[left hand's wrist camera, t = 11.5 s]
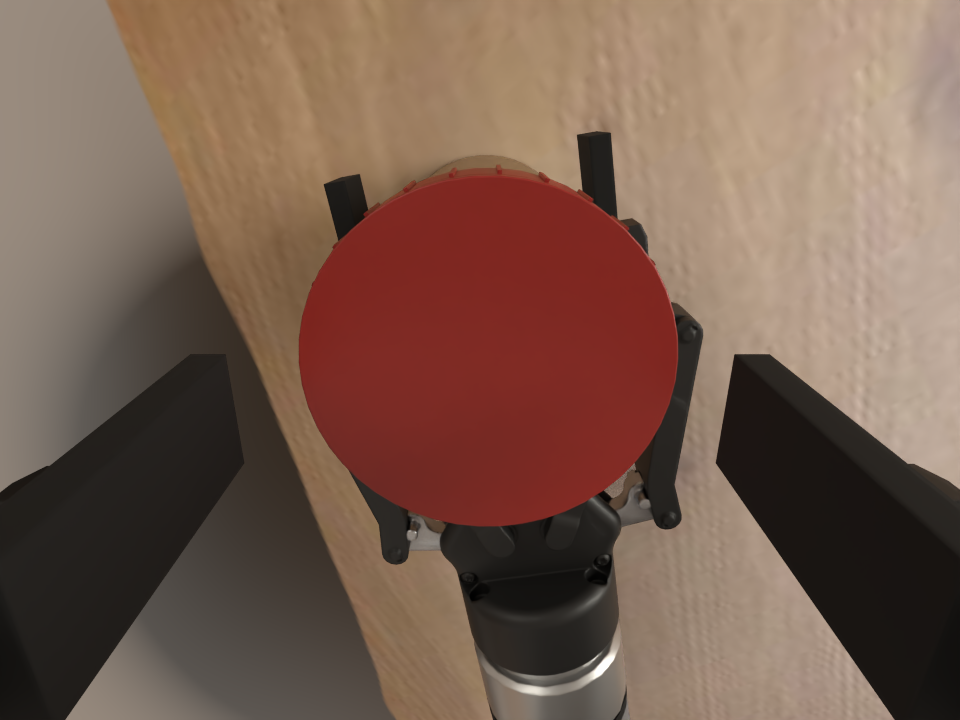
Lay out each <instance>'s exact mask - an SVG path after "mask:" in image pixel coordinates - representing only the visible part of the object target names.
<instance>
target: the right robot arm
mask: <svg viewBox="0 0 960 720" xmlns="http://www.w3.org/2000/svg"><path fill="white" fill-rule="evenodd" d="M577 140H578V150H579V160H580V169H581V179H582V189H583V192H584V193H586V194H587V195H588V196H590V197H591V198H592V199H593V201H592V202H593V203H594V204H595V205H597V206H598V207H599V208H601V209H602V210H603V211H604V212H606V213H607V214H608V215H609V216H612V215H613V216H614V217H615V218H617V205H616V193H615V181H614V168H613V156H612V143H611V133H608V132H598V131H596V132H590V133H585V134H579V135H577ZM324 187H325V191H326V195H327V199H328V203H329V206H330V210H331V214H332V218H333V222H334V225H335V229H336V233H337V237H338V241H339V240H340V239H342V238H343V237H344V236H345V235H346V234H348V232H349V231H350V230H351V229H353V228H354V227H355V226H356V225H357V224H358V223H360V222H361V221H362V220H363V219H364V218H365V216H364V215H363V214H364V213H365V212H367V211H368V207H367V203H366V199H365V195H364V190H363V186H362V182H361V178H360V174H357V175H352V176H346V177H341V178H338V179H336V180H333V181H331V182H328V183H326V184H324ZM617 219H618V218H617ZM620 221H621V222H622V223H623V224H625V225H626V226H627V227H628V228H629V230H628V232H629V233H630V234H631V236H632V237H633V238H634V239H635V240H636V241H637V242H638V243H639V244H640V245H641V246H642V248H643V249H644V251H645V252H646V254H647V255H648V241H647V235H646V233H645V231H644V229H643V227H642V225H641V224H640V223H638V222H637V221H635V220H634V219H632V218H631V219H626V220H620ZM671 305H672V308H673V311H674V317H675V323H676V329H677V335H678V363H677V371H676V380H675V384H674V388H673V392H672V396H671V399H670V403H669V406H668V408H667V410H666V413H665V415H664V418H663V420H662V422H661V425H660V426H659V428H658V430H657V432H656V433H655V435H654V437H653V438H652V440H651V442H650V443H649V445H648V446H647V447H646V449H645V450H644V451H643V453H642V454H641V455H640V457H639V458H638V459H637V460H636V462H635V467H636V470H631V471H629V472H628V473H627V478H626V479H625V481H624V489H623V491H622V493H621V494H620V495H619V496H617V497H615V498H613V499H612V498H611V497H610V496H609V495H608V494H607V493H606V492H605V491H604V490H603V491H602V492H600V493H599V494H597V495H595V496H594V497H592V498H591V499H589V500H587V501H586V502H584V503H582V504H580V505H578V506H576V507H573V508H571V509H569V510H567V511H565V512H562V513H559V514H556V515H554V516H551V517H548V518H545V519H541V520H537V521H532V522H528V523H523V524H516V525H507V526H470V525H460V524H453V523H449V522H444V521H436V520H434V519H432V518H428V517H425V516H422V515H419V514H416V513H414V512H411V511H409V510H407V509H405V508H403V507H400V506H398V505H396V504H394V503H392V502H391V501H389V500H387V499H386V498H384V497H382V496H381V495H379V494H377V493H376V492H374V491H373V490H372V489H370V488H369V487H368V486H367V485H365V484H364V483H363V482H361V481H360V480H359V479H358V478H357V477H356V476H355V475H354V474H353V473H351V472H350V471H349V472H350V473H351V475H352V477H353V479H354V481H355V482H356V484H357V486H358V488H359V490H360V491H361V493H362V495H363V497H364V499H365V500H366V502H367V504H368V506H369V508H370V509H371V511H372V513H373V515H374V517H375V518H376V520H377V522H378V524H379V529H380V538H381V547H382V555H383V558H384V559H385V560H386V561H387V562H389V563H391V564H396V565H397V564H402V563H403V562H405V561H406V560H407V558H408V554H409V551H427V550H441V551H442V553H443V555H444V556H445V558H446V559H448V560H449V561H450V562H451V563H452V564H453V566H454V567H455V569H456V571H457V573H458V577H459V581H460V586H461V590H462V594H463V598H464V602H465V607H466V611H467V615H468V620H469V624H470V628H471V632H472V635H473V638H474V645H475V649H476V654H477V658H478V662H479V666H480V670H481V674H482V678H483V682H484V686H485V690H486V694H487V699H488V703H489V706H490V710H491V714H492V717H493V720H630V715H629V709H628V702H627V689H626V670H625V662H624V653H623V644H622V635H621V627H620V620H619V607H618V598H617V588H616V579H615V570H614V560H613V546H614V543H615V541H616V539H617V537H618V536H619V534H620V531H621V527H623V526H627V525H631V524H635V523H639V522H643V521H647V520H651V519H654V521H655V523H656V525H657V526H658V527H659V528H661V529H672V528H674V527H676V526H677V525H678V524H679V523H680V521H681V511H680V507H679V502H678V498H677V494H676V489H675V485H674V484H675V479H676V474H677V469H678V463H679V458H680V453H681V448H682V443H683V437H684V432H685V427H686V422H687V417H688V411H689V406H690V401H691V396H692V391H693V385H694V380H695V375H696V370H697V365H698V359H699V354H700V349H701V344H702V339H703V329H702V327H701V325H700V324H699V323H698V322H697V321H696V320H695V319H694V318H693V317H692V316H691V315H690V314H689V313H688V312H686V311H685V310H684V309H683V308H682V307H681V306H680V305H678V304H677V303H673V302H671Z"/></svg>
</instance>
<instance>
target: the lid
mask: <svg viewBox="0 0 960 720" xmlns="http://www.w3.org/2000/svg"><path fill="white" fill-rule="evenodd" d="M592 201H593V199H592V198H591V197H590V196H588V195H587V194H586V193H584V192H583V191H581V190H580V189H579V190H578V191H577V192H576V191H574V190H572V189H571V188H569V187H567V186H565V185H563V184H561V183H558V182H556V181H553V180H551V179H549V178H548V177H547V176H546V175H545V174H544V173H542V172H539V175H536V174H532V173H528V172H525V171H520V170H511V169H503V168H501V166H500V165H496V168H471V169H465V170H458V171H457V168H456V167H455V168H452V170H451V171H450V172H447V173H444V174H441V175H437V176H434V177H431V178H427V179H425V180H423V181H420V182H418V183H416V181H415V180H414V181H412V182H410V183H409V184H408V185H407V186H406V187H405V188H403V190H402V191H400V192H399V193H397V194H396V195H394V196H392V197H391V198H389V199H388V200H386V201H385V202H384V203H382V204H381V205H380V204H379V202H378V203H377V204H376V205H374V206H373V207H372V208H370V209H369V210H368V211H367V212H365V213H364V214H363V215H364V216H365V218H364V219H363V220H362V221H361V222H360V223H358V224H357V225H356V226H355V227H354V228H353V229H351V230H350V231H349V232H348V234H346V235H345V236H344V237H343V238H342V239H340V240H339V241H338V242H337V243H336V244H334V246H333V247H332V248H333V251H332V252H331V254H330V255H329V257H328V258H327V260H326V262H325V263H324V265H323V266H322V268H321V269H320V271H319V273H318V275H317V277H316V279H315V281H314V282H313V283H312V288H311V290H310V292H309V295H308V299H307V302H306V305H305V309H304V312H303V315H302V322H301V328H300V335H299V367H300V374H301V381H302V386H303V390H304V393H305V397H306V401H307V404H308V407H309V410H310V412H311V414H312V416H313V419H314V421H315V423H316V426H317V428H318V429H319V431H320V433H321V434H322V436H323V438H324V439H325V441H326V443H327V444H328V446H329V447H330V449H331V450H332V451H333V452H334V454H335V455H336V456H337V457H338V459H339V460H340V461H341V462H342V464H343V465H344V466H345V467H346V468H347V469H348V470H349V471H350V472H351V473H353V474H354V475H355V476H356V477H357V478H358V479H359V480H360V481H361V482H363V483H364V484H365V485H367V486H368V487H369V488H370V489H372V490H373V491H374V492H376V493H377V494H379V495H381V496H382V497H384V498H386V499H387V500H389V501H391V502H392V503H394V504H396V505H398V506H400V507H403V508H405V509H407V510H409V511H411V512H414V513H416V514H419V515H422V516H425V517H428V518H432V519H435V520H439V521H444V522H449V523H453V524H460V525H470V526H507V525H516V524H523V523H528V522H532V521H537V520H541V519H545V518H548V517H551V516H554V515H556V514H559V513H562V512H565V511H567V510H569V509H571V508H573V507H576V506H578V505H580V504H582V503H584V502H586V501H587V500H589V499H591V498H592V497H594V496H595V495H597V494H599V493H600V492H602V491H603V490H605V489H606V488H607V487H608V486H610V485H611V484H612V483H613V482H615V481H616V480H617V479H618V478H620V477H621V476H622V475H623V474H624V473H625V472H626V471H627V470H628V469H629V468H630V467H631V466H632V465H633V464H634V463H635V462H636V460H637V459H638V458H639V457H640V455H641V454H642V453H643V451H644V450H645V449H646V447H647V446H648V445H649V443H650V442H651V440H652V438H653V437H654V435H655V433H656V432H657V430H658V428H659V426H660V425H661V422H662V420H663V418H664V415H665V413H666V410H667V408H668V406H669V403H670V399H671V396H672V392H673V388H674V384H675V380H676V371H677V363H678V335H677V329H676V323H675V317H674V311H673V308H672V305H671V302H670V299H669V296H668V293H667V289H666V287H665V285H664V283H663V281H662V279H661V277H660V275H659V273H658V271H657V269H656V267H655V263H654V261H653V260H651V259H650V258H649V257H648V255H647V254H646V252H645V251H644V249H643V248H642V246H641V245H640V244H639V243H638V242H637V241H636V240H635V239H634V238H633V237H632V236H631V234H630V233H629V232H628V230H629V228H628V227H627V226H626V225H625V224H623V223H622V222H621V221H619V220H618V219H617V218H615V217H614V216H613V215H612V216H609V215H608V214H607V213H606V212H604V211H603V210H602V209H601V208H599V207H598V206H597V205H595V204H594V203H593V202H592Z"/></svg>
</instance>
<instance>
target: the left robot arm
mask: <svg viewBox="0 0 960 720" xmlns="http://www.w3.org/2000/svg"><path fill="white" fill-rule="evenodd" d="M243 464H244V459H243V453H242V448H241V442H240V436H239V430H238V424H237V419H236V413H235V407H234V401H233V395H232V390H231V384H230V378H229V372H228V366H227V361H226V355H225V354H190V355H189V356H188V357H187V358H185V359H184V360H183V361H181V362H180V363H179V364H178V365H176V366H175V367H174V368H173V369H171V370H170V371H169V372H168V373H166V374H165V375H164V376H163V377H161V378H160V379H159V380H158V381H156V382H155V383H154V384H152V385H151V386H150V387H149V388H147V389H146V390H145V391H144V392H142V393H141V394H140V395H139V396H137V397H136V398H135V399H134V400H132V401H131V402H130V403H129V404H127V405H126V406H125V407H123V408H122V409H121V410H120V411H118V412H117V413H116V414H115V415H113V416H112V417H111V418H110V419H108V420H107V421H106V422H105V423H103V424H102V425H101V426H100V427H98V428H97V429H96V430H94V431H93V432H92V433H91V434H89V435H88V436H87V437H86V438H84V439H83V440H82V441H81V442H79V443H78V444H77V445H76V446H74V447H73V448H72V449H70V450H69V451H68V452H67V453H65V454H64V455H63V456H62V457H60V458H59V459H58V460H57V461H55V462H54V463H53V464H52V465H50V466H46V467H44V468H42V469H40V470H38V471H36V472H34V473H32V474H30V475H28V476H26V477H24V478H22V479H20V480H18V481H16V482H14V483H12V484H11V485H9V486H8V487H7V488H5V489H4V490H3V491H1V492H0V720H65V719H66V718H67V716H68V715H69V714H70V712H71V711H72V709H73V708H74V706H75V705H76V704H77V702H78V701H79V699H80V698H81V696H82V695H83V694H84V692H85V691H86V689H87V688H88V686H89V685H90V684H91V682H92V681H93V679H94V678H95V676H96V675H97V673H98V672H99V671H100V669H101V668H102V666H103V665H104V663H105V662H106V661H107V659H108V658H109V656H110V655H111V653H112V652H113V651H114V649H115V648H116V646H117V645H118V643H119V642H120V640H121V639H122V638H123V636H124V635H125V633H126V632H127V630H128V629H129V628H130V626H131V625H132V623H133V622H134V620H135V619H136V617H137V616H138V615H139V613H140V612H141V610H142V609H143V607H144V606H145V605H146V603H147V602H148V600H149V599H150V597H151V596H152V595H153V593H154V592H155V590H156V589H157V587H158V586H159V585H160V583H161V582H162V580H163V579H164V577H165V576H166V575H167V573H168V572H169V570H170V569H171V567H172V566H173V564H174V563H175V562H176V560H177V559H178V557H179V556H180V554H181V553H182V552H183V550H184V549H185V547H186V546H187V544H188V543H189V542H190V540H191V539H192V537H193V536H194V534H195V533H196V531H197V530H198V528H199V527H200V526H201V524H202V523H203V521H204V520H205V519H206V517H207V516H208V514H209V513H210V511H211V510H212V509H213V507H214V506H215V504H216V503H217V501H218V500H219V498H220V497H221V496H222V494H223V493H224V491H225V490H226V488H227V487H228V486H229V484H230V483H231V481H232V480H233V478H234V477H235V476H236V474H237V473H238V471H239V470H240V468H241V467H242V465H243ZM716 464H717V466H718V467H719V468H720V470H721V471H722V473H723V474H724V476H725V477H726V478H727V480H728V481H729V483H730V484H731V486H732V487H733V488H734V490H735V491H736V493H737V494H738V496H739V497H740V498H741V500H742V501H743V503H744V504H745V506H746V507H747V509H748V510H749V511H750V513H751V514H752V516H753V517H754V519H755V520H756V521H757V523H758V524H759V526H760V527H761V529H762V530H763V531H764V533H765V534H766V536H767V537H768V539H769V540H770V542H771V543H772V544H773V546H774V547H775V549H776V550H777V552H778V553H779V554H780V556H781V557H782V559H783V560H784V562H785V563H786V564H787V566H788V567H789V569H790V570H791V572H792V573H793V575H794V576H795V577H796V579H797V580H798V582H799V583H800V585H801V586H802V587H803V589H804V590H805V592H806V593H807V595H808V596H809V597H810V599H811V600H812V602H813V603H814V605H815V606H816V608H817V609H818V610H819V612H820V613H821V615H822V616H823V618H824V619H825V620H826V622H827V623H828V625H829V626H830V628H831V629H832V630H833V632H834V633H835V635H836V636H837V638H838V639H839V640H840V642H841V643H842V645H843V646H844V648H845V649H846V651H847V652H848V653H849V655H850V656H851V658H852V659H853V661H854V662H855V663H856V665H857V666H858V668H859V669H860V671H861V672H862V673H863V675H864V676H865V678H866V679H867V681H868V682H869V684H870V685H871V686H872V688H873V689H874V691H875V692H876V694H877V695H878V696H879V698H880V699H881V701H882V702H883V704H884V705H885V706H886V708H887V709H888V711H889V712H890V714H891V715H892V717H893V718H894V719H895V720H960V489H958V488H957V487H956V486H954V485H953V484H952V483H950V482H949V481H947V480H945V479H943V478H941V477H939V476H937V475H935V474H933V473H931V472H929V471H927V470H925V469H923V468H921V467H919V466H917V465H915V464H907V463H906V462H905V461H903V460H902V459H901V458H900V457H898V456H897V455H896V454H895V453H893V452H892V451H891V450H890V449H888V448H887V447H886V446H884V445H883V444H882V443H881V442H879V441H878V440H877V439H876V438H874V437H873V436H872V435H871V434H869V433H868V432H867V431H866V430H864V429H863V428H862V427H861V426H859V425H858V424H857V423H855V422H854V421H853V420H852V419H850V418H849V417H848V416H847V415H845V414H844V413H843V412H842V411H840V410H839V409H838V408H837V407H835V406H834V405H833V404H832V403H830V402H829V401H828V400H826V399H825V398H824V397H823V396H821V395H820V394H819V393H818V392H816V391H815V390H814V389H813V388H811V387H810V386H809V385H808V384H806V383H805V382H804V381H803V380H801V379H800V378H799V377H797V376H796V375H795V374H794V373H792V372H791V371H790V370H789V369H787V368H786V367H785V366H784V365H782V364H781V363H780V362H779V361H777V360H776V359H775V358H773V357H772V356H771V355H770V354H735V355H734V360H733V366H732V372H731V378H730V384H729V389H728V395H727V401H726V407H725V413H724V418H723V424H722V430H721V436H720V442H719V447H718V453H717V459H716Z"/></svg>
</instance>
